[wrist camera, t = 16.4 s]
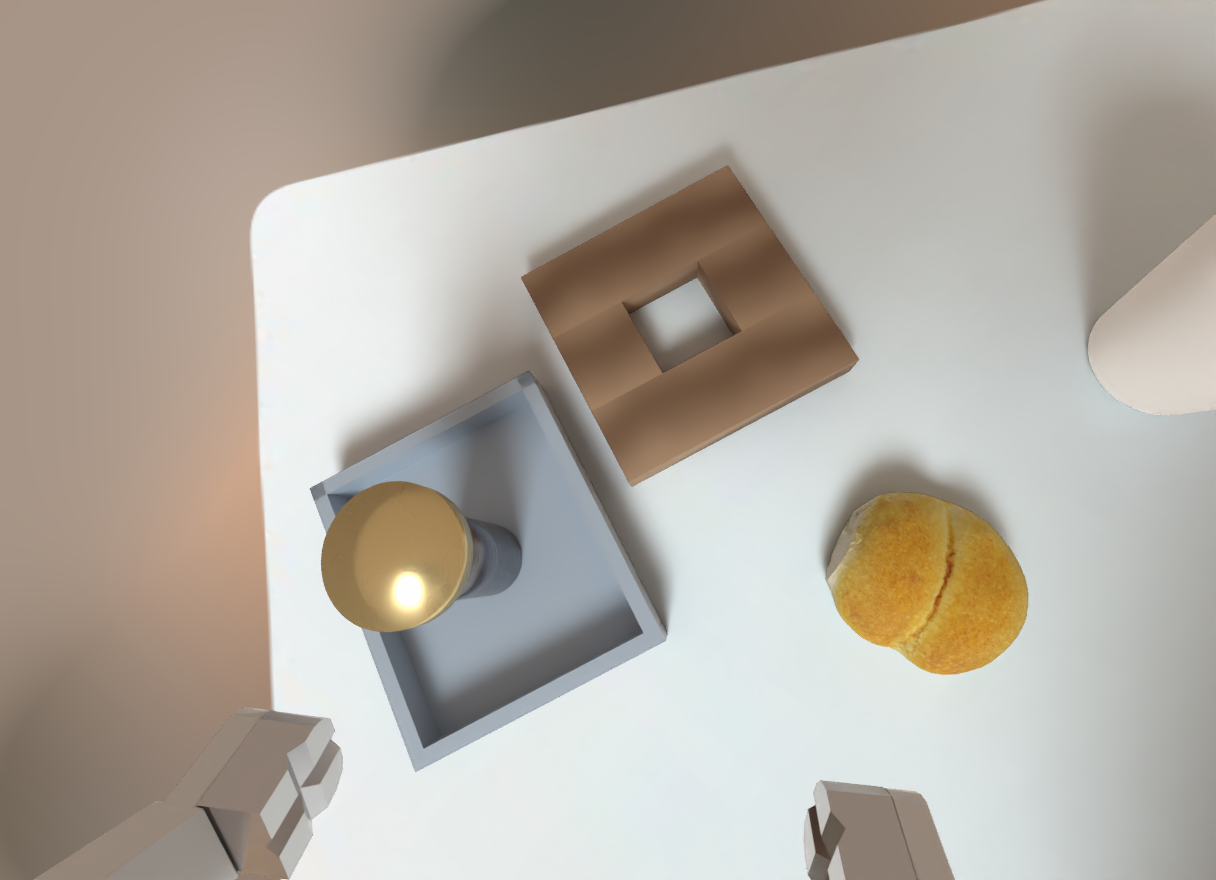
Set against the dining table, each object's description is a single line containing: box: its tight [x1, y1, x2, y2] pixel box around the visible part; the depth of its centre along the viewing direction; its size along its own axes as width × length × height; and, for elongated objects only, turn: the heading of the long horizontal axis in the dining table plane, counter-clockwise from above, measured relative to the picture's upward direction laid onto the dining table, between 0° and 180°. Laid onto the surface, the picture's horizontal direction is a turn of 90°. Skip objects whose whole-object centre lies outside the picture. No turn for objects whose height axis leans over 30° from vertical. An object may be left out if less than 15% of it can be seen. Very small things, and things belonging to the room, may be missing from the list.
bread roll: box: [825, 492, 1028, 675], centre depth 29 cm, size 8×9×4 cm
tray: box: [310, 371, 667, 772], centre depth 32 cm, size 16×14×3 cm
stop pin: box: [321, 481, 522, 632], centre depth 28 cm, size 6×6×11 cm
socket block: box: [521, 166, 859, 486], centre depth 34 cm, size 14×14×2 cm
